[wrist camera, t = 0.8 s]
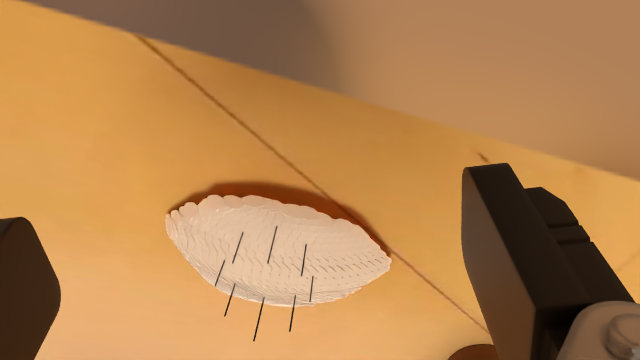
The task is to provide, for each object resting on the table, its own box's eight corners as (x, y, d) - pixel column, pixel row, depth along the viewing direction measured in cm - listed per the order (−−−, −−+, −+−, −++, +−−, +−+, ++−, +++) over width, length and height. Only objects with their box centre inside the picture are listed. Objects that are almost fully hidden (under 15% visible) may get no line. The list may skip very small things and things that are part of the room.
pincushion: (404, 209, 29) (413, 275, 24) (376, 303, 32) (380, 379, 27) (171, 164, 29) (132, 221, 24) (163, 262, 32) (126, 332, 27)
